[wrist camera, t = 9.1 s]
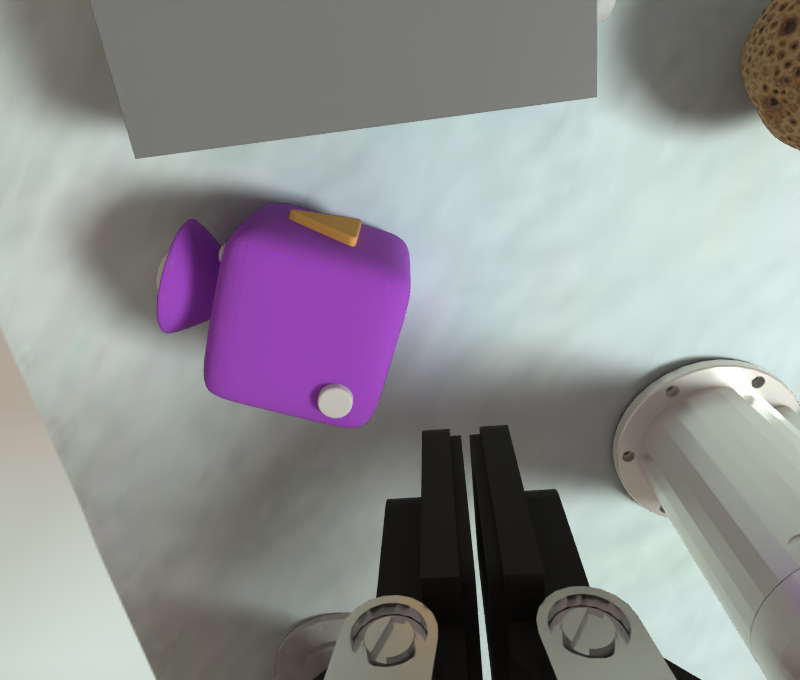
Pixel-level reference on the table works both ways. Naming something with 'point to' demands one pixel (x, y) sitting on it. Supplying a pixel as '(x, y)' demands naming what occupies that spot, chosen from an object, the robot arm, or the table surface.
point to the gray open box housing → (335, 64)
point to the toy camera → (291, 310)
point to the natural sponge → (775, 69)
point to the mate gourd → (309, 648)
